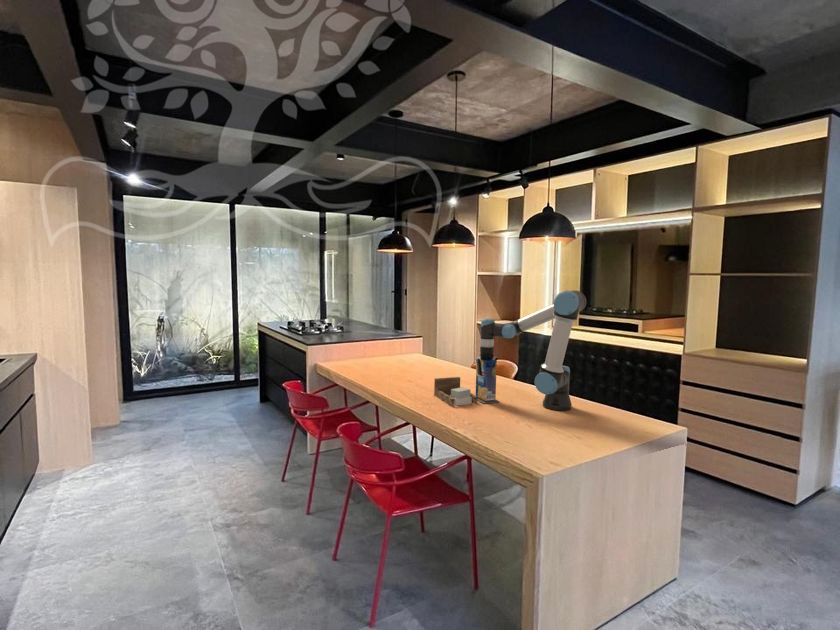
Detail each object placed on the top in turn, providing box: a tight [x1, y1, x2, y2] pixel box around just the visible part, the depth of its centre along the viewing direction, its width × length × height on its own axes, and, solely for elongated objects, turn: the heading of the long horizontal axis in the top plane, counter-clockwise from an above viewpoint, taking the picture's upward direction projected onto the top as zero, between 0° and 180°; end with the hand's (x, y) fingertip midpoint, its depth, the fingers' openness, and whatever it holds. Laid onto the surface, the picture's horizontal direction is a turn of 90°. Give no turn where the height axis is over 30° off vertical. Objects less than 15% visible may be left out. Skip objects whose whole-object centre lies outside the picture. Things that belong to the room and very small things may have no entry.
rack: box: [433, 376, 479, 407], centre depth 259 cm, size 24×16×10 cm
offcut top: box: [451, 386, 471, 399], centre depth 252 cm, size 6×9×4 cm, turn 127°
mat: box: [477, 397, 500, 405], centre depth 260 cm, size 14×10×1 cm
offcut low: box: [449, 395, 472, 406], centre depth 253 cm, size 7×10×4 cm
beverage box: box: [475, 360, 498, 401], centre depth 259 cm, size 7×11×22 cm, turn 21°
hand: (485, 387), depth 259 cm, fingers closed on beverage box, 2 cm apart
